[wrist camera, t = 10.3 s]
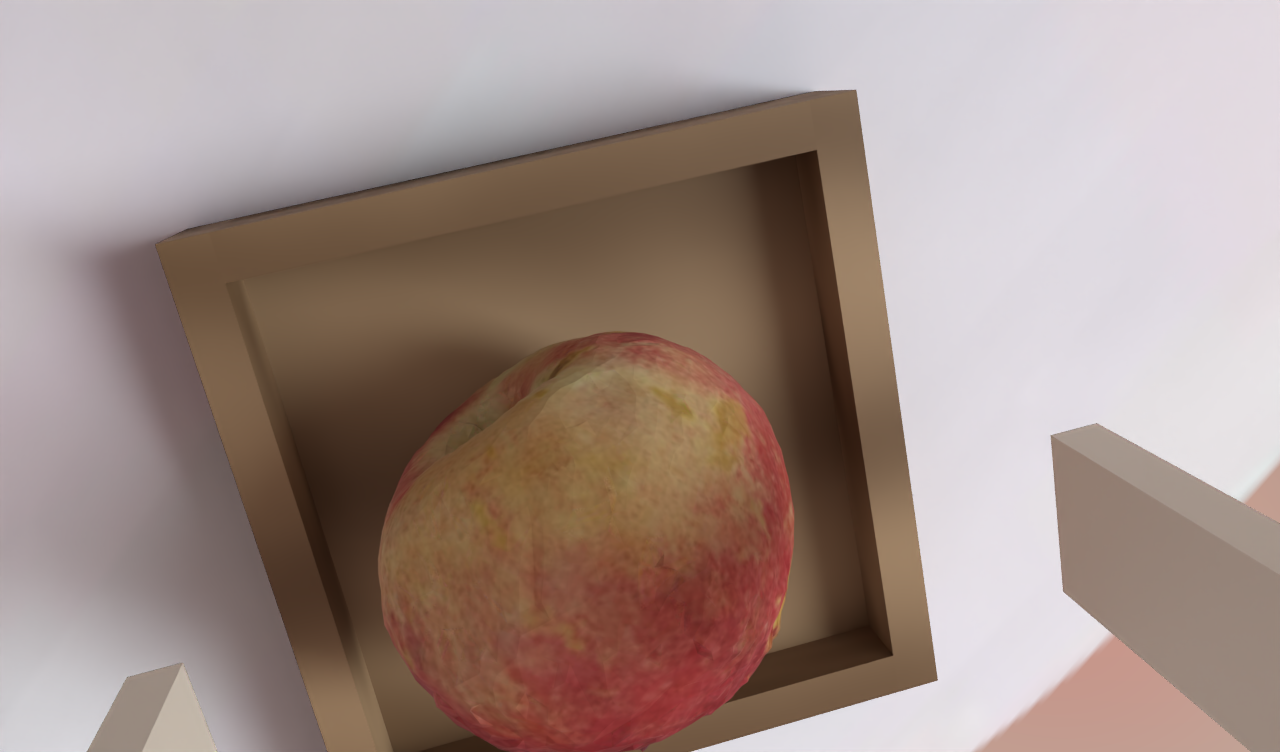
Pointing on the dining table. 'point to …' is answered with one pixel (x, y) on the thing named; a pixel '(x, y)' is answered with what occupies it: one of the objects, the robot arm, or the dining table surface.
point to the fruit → (590, 548)
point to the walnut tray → (551, 313)
